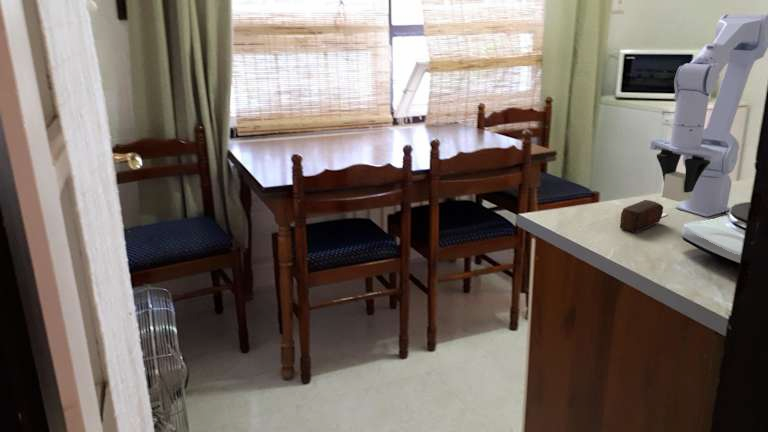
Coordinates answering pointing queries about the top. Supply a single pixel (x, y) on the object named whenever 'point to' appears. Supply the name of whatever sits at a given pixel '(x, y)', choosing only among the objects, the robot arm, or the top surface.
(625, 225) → the brick
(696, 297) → the top surface
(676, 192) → the cream block
